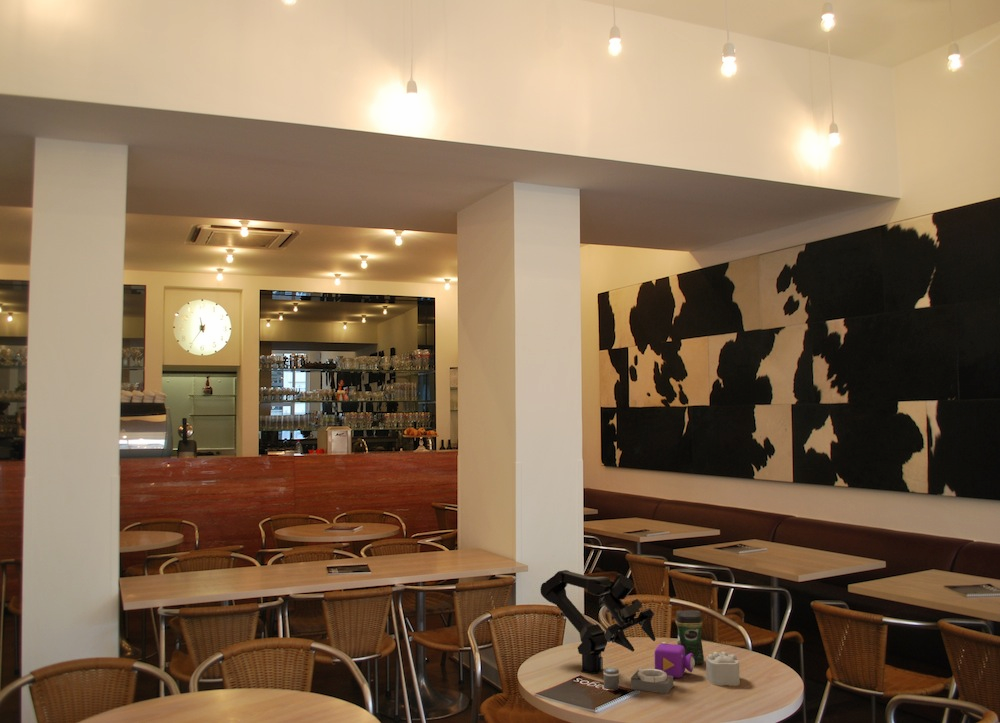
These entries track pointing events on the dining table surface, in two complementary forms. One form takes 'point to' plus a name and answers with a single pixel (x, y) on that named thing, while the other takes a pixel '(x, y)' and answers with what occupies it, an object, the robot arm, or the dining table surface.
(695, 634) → the coffee jar
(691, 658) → the toy camera
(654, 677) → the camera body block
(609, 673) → the lens
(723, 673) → the lumpy-topped squat cylinder
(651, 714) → the dining table surface
